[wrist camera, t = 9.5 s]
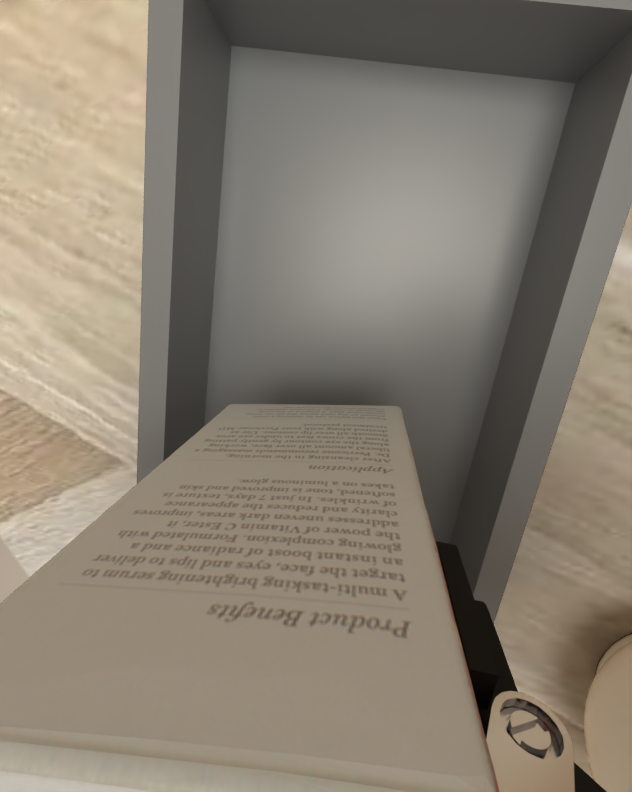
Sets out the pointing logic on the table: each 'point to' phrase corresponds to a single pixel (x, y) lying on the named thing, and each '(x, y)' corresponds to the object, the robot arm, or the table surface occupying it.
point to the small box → (248, 625)
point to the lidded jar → (611, 719)
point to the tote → (385, 228)
